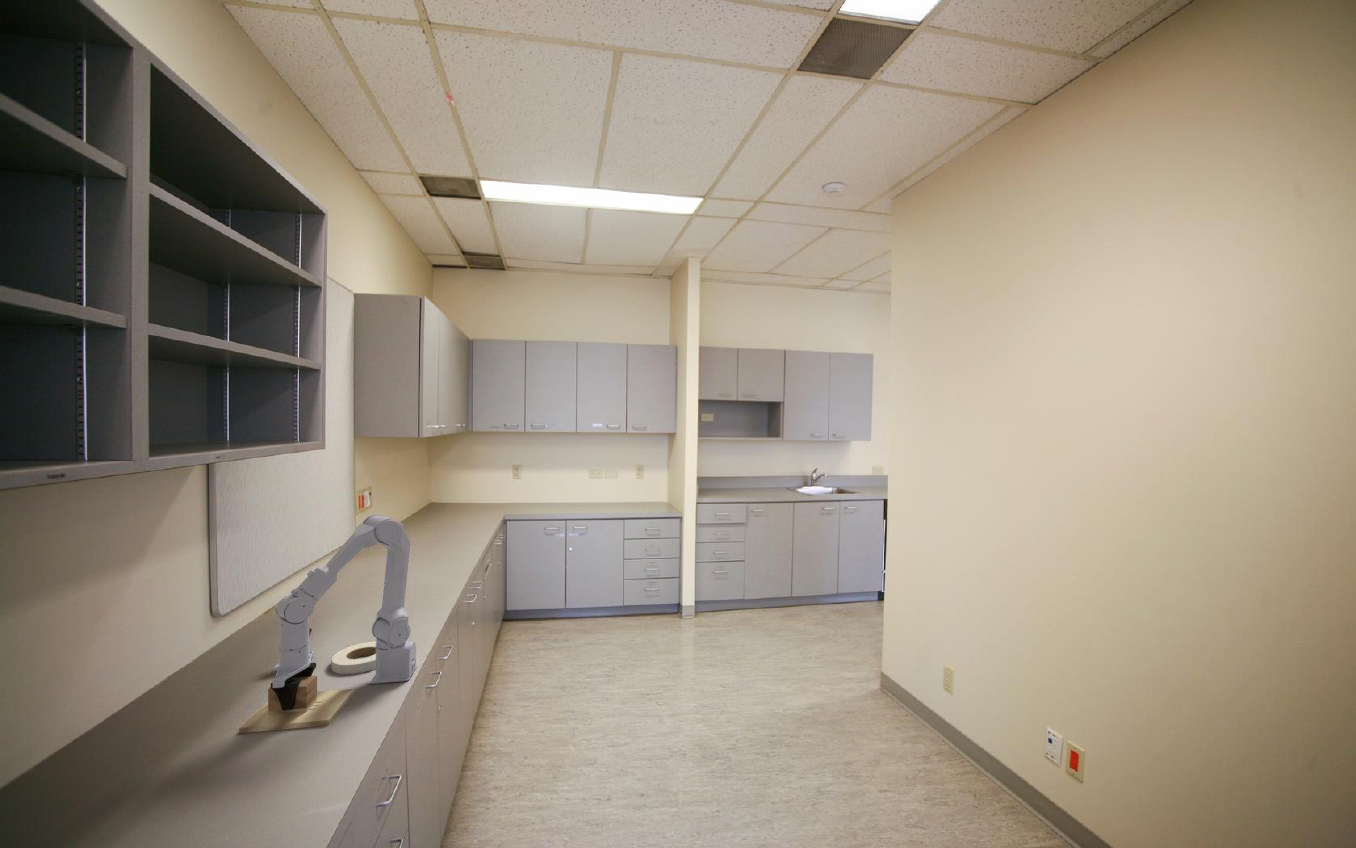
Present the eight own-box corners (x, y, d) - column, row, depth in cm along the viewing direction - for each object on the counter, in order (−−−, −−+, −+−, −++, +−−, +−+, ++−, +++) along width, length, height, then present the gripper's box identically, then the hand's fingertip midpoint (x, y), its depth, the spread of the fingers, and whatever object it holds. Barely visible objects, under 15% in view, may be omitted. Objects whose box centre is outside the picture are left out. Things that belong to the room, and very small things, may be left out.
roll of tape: (318, 668, 147) (318, 658, 147) (370, 646, 161) (370, 637, 161) (354, 680, 140) (354, 669, 140) (405, 656, 154) (405, 647, 154)
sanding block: (317, 700, 127) (317, 676, 127) (306, 711, 122) (306, 686, 122) (280, 703, 126) (280, 678, 126) (268, 715, 121) (268, 689, 121)
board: (354, 693, 133) (354, 688, 133) (328, 725, 119) (328, 719, 119) (274, 700, 129) (274, 695, 129) (239, 733, 116) (239, 728, 116)
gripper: (291, 634, 130) (291, 689, 130) (257, 661, 116) (256, 722, 116) (323, 632, 132) (323, 686, 132) (292, 658, 117) (292, 718, 117)
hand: (294, 703), depth 124 cm, fingers closed on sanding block, 5 cm apart
